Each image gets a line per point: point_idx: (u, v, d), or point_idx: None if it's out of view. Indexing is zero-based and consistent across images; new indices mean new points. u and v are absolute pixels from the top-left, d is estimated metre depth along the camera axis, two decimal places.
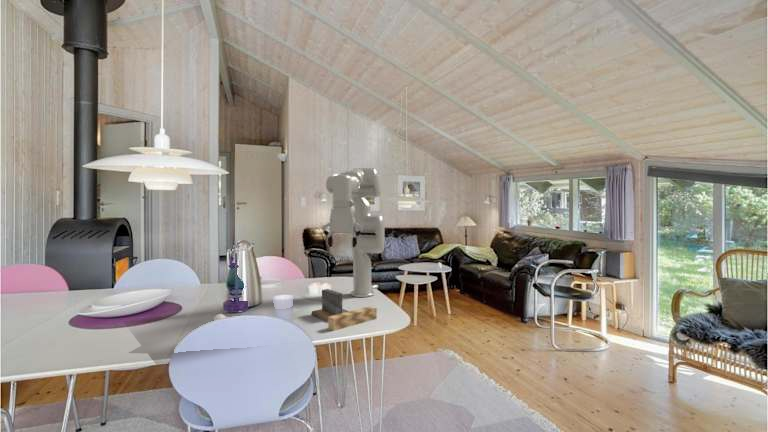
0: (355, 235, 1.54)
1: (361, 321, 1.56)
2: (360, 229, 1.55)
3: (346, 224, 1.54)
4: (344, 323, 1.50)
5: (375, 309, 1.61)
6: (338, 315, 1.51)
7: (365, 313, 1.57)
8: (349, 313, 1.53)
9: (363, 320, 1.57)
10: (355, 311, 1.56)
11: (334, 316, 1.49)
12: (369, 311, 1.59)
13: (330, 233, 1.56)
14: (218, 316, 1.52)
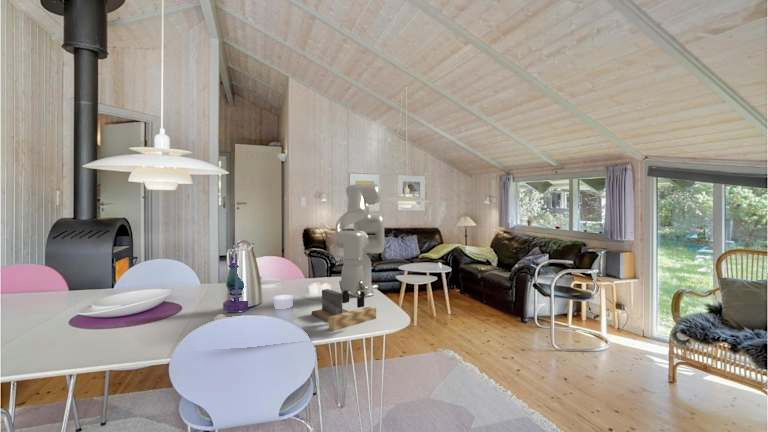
0: None
1: (361, 321, 1.56)
2: None
3: None
4: (344, 323, 1.50)
5: (375, 309, 1.61)
6: (338, 315, 1.51)
7: (364, 313, 1.57)
8: (349, 313, 1.53)
9: (363, 320, 1.57)
10: (355, 311, 1.56)
11: (334, 316, 1.49)
12: (369, 310, 1.59)
13: None
14: (218, 316, 1.52)
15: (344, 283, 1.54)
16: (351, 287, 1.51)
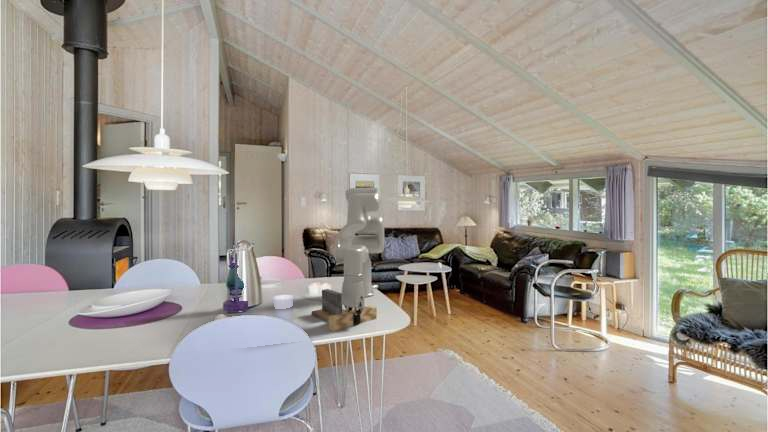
0: None
1: (361, 320, 1.56)
2: None
3: None
4: (344, 322, 1.50)
5: (375, 308, 1.61)
6: (338, 315, 1.50)
7: (365, 312, 1.57)
8: (349, 312, 1.53)
9: (363, 319, 1.57)
10: None
11: (334, 316, 1.49)
12: (369, 310, 1.59)
13: None
14: (219, 316, 1.52)
15: (344, 298, 1.54)
16: (351, 303, 1.51)
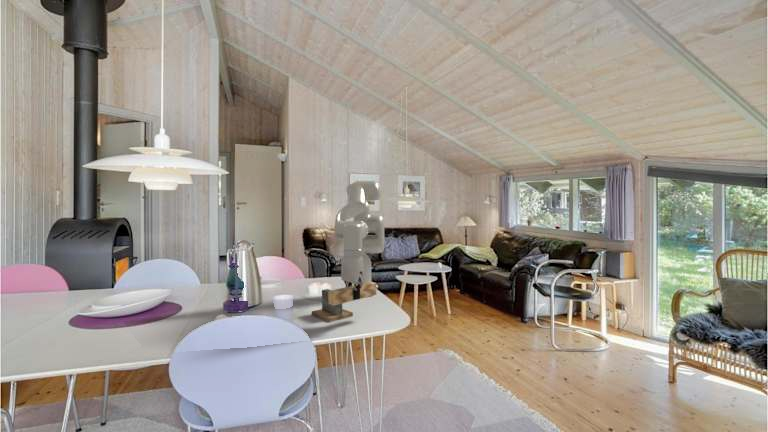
0: None
1: (361, 296, 1.56)
2: None
3: None
4: (344, 297, 1.50)
5: (375, 284, 1.61)
6: (338, 290, 1.51)
7: (364, 288, 1.57)
8: (349, 288, 1.53)
9: (363, 295, 1.57)
10: None
11: (334, 290, 1.49)
12: (369, 286, 1.59)
13: None
14: (220, 316, 1.52)
15: (344, 274, 1.54)
16: (351, 278, 1.51)
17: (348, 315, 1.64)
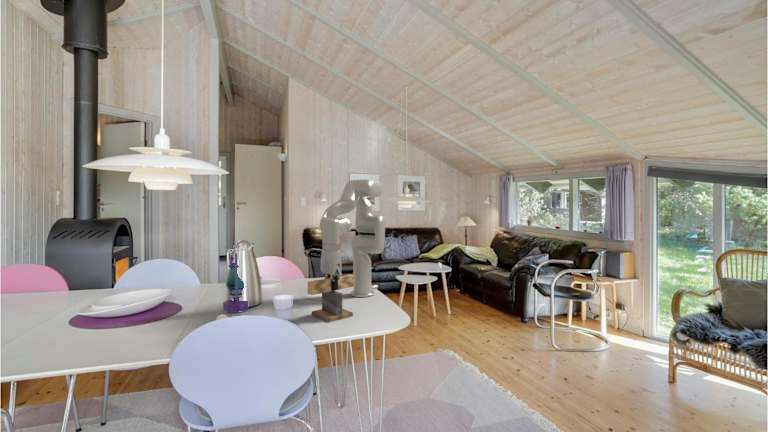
0: None
1: (339, 287, 1.67)
2: None
3: None
4: (322, 288, 1.61)
5: (352, 277, 1.72)
6: (317, 280, 1.61)
7: (342, 280, 1.68)
8: (327, 279, 1.64)
9: (341, 286, 1.67)
10: None
11: (313, 281, 1.60)
12: (346, 278, 1.69)
13: None
14: (220, 316, 1.52)
15: (323, 266, 1.65)
16: (329, 270, 1.62)
17: (348, 315, 1.64)
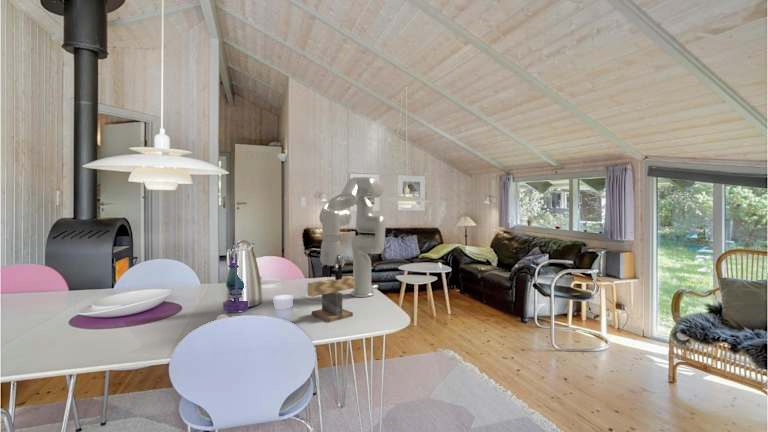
0: (326, 264, 1.71)
1: (339, 289, 1.67)
2: None
3: None
4: (322, 289, 1.61)
5: (353, 278, 1.72)
6: (317, 282, 1.61)
7: (342, 281, 1.68)
8: (327, 281, 1.64)
9: (341, 288, 1.67)
10: (334, 279, 1.66)
11: (313, 283, 1.60)
12: (347, 279, 1.69)
13: None
14: (221, 316, 1.52)
15: (323, 258, 1.65)
16: (329, 261, 1.62)
17: (348, 315, 1.64)
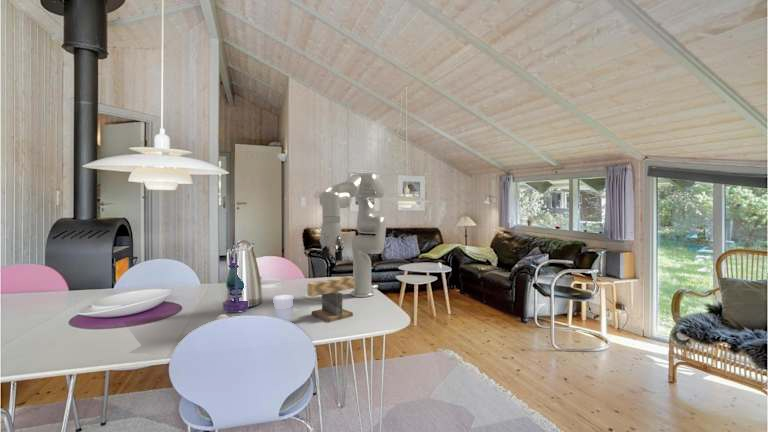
0: (326, 246, 1.71)
1: (339, 289, 1.67)
2: None
3: None
4: (322, 289, 1.61)
5: (353, 278, 1.72)
6: (317, 282, 1.61)
7: (342, 281, 1.68)
8: (327, 281, 1.64)
9: (341, 288, 1.67)
10: (334, 279, 1.66)
11: (313, 283, 1.60)
12: (347, 279, 1.69)
13: None
14: (221, 316, 1.52)
15: (323, 239, 1.66)
16: (329, 242, 1.62)
17: (348, 315, 1.64)
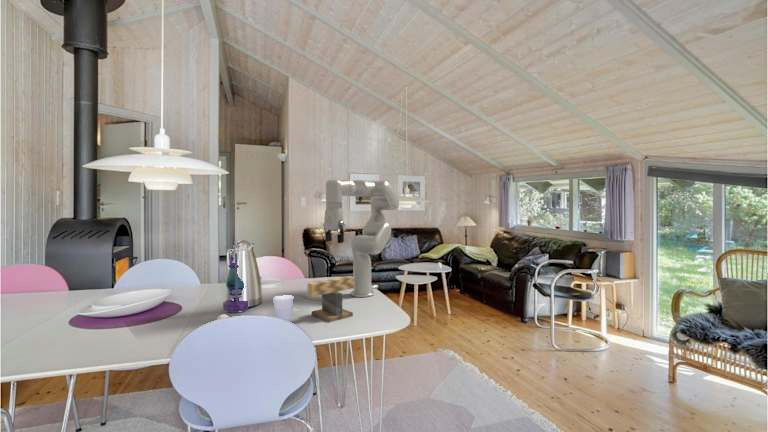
0: None
1: (339, 289, 1.67)
2: None
3: None
4: (322, 289, 1.61)
5: (353, 278, 1.72)
6: (317, 282, 1.61)
7: (342, 281, 1.68)
8: (327, 281, 1.64)
9: (341, 288, 1.67)
10: (334, 279, 1.66)
11: (313, 283, 1.60)
12: (347, 279, 1.69)
13: None
14: (221, 316, 1.52)
15: (327, 223, 1.81)
16: (332, 226, 1.78)
17: (348, 315, 1.64)
